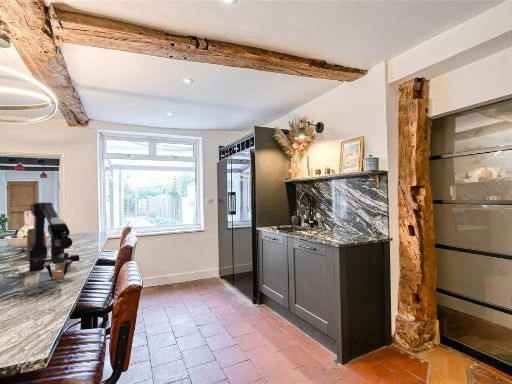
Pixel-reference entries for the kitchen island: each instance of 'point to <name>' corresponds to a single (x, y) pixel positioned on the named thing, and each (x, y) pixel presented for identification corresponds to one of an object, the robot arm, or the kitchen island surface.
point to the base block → (62, 267)
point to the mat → (73, 269)
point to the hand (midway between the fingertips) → (57, 276)
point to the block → (30, 238)
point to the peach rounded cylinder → (57, 274)
